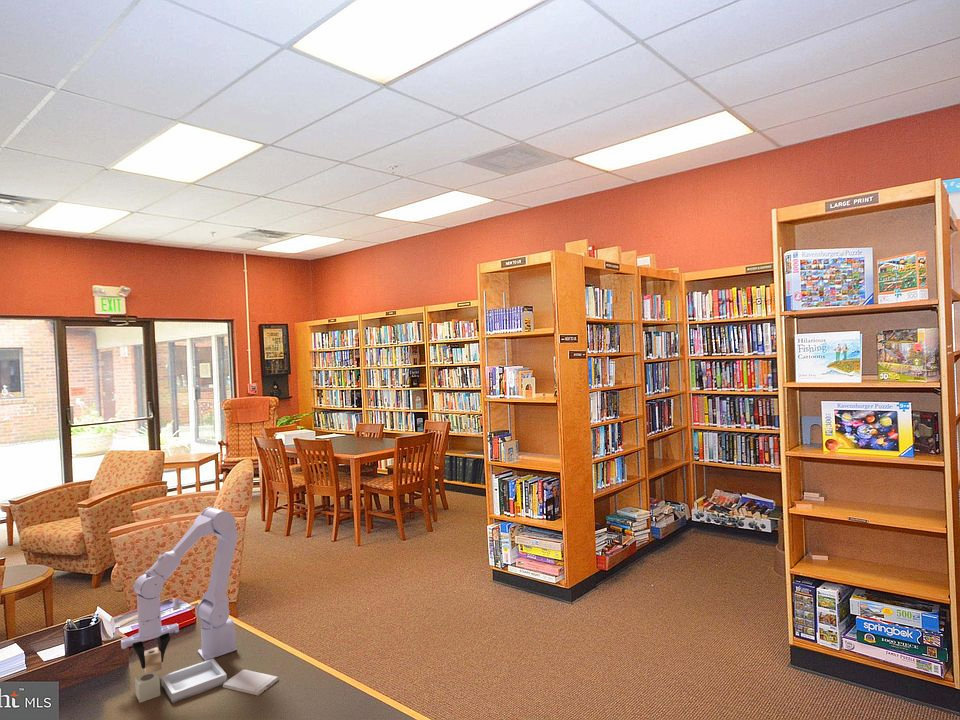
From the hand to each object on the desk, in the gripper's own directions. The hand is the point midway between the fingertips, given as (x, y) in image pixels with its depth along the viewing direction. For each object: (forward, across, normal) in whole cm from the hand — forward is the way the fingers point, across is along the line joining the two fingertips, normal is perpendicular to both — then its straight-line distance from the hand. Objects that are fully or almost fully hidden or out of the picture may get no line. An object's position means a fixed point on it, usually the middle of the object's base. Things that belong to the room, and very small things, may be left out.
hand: (152, 664), depth 175 cm
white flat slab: (+5, -20, +23) cm, 31 cm away
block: (+1, 0, 0) cm, 1 cm away
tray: (+4, -8, +12) cm, 15 cm away
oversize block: (+4, +3, +9) cm, 10 cm away
